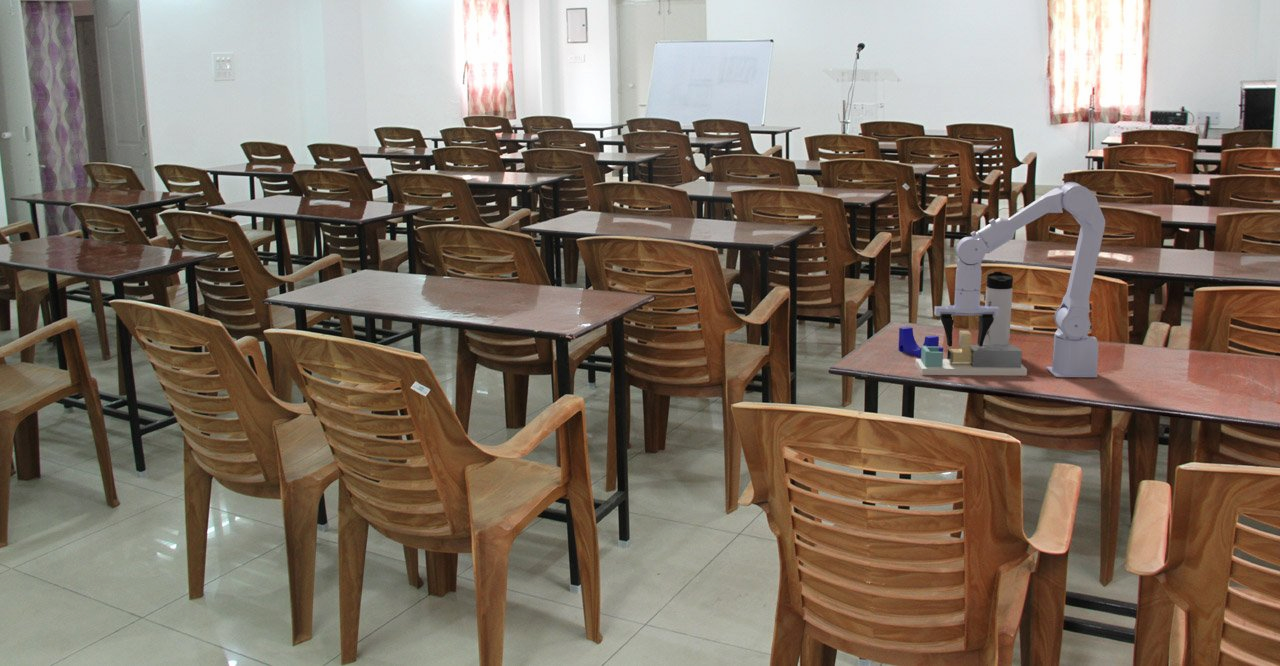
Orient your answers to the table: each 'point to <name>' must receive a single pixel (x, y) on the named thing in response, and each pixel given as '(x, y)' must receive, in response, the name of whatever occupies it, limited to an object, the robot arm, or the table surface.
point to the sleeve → (996, 356)
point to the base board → (967, 369)
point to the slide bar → (962, 349)
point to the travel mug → (1002, 298)
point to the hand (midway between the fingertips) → (964, 345)
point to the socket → (931, 356)
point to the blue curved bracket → (910, 345)
